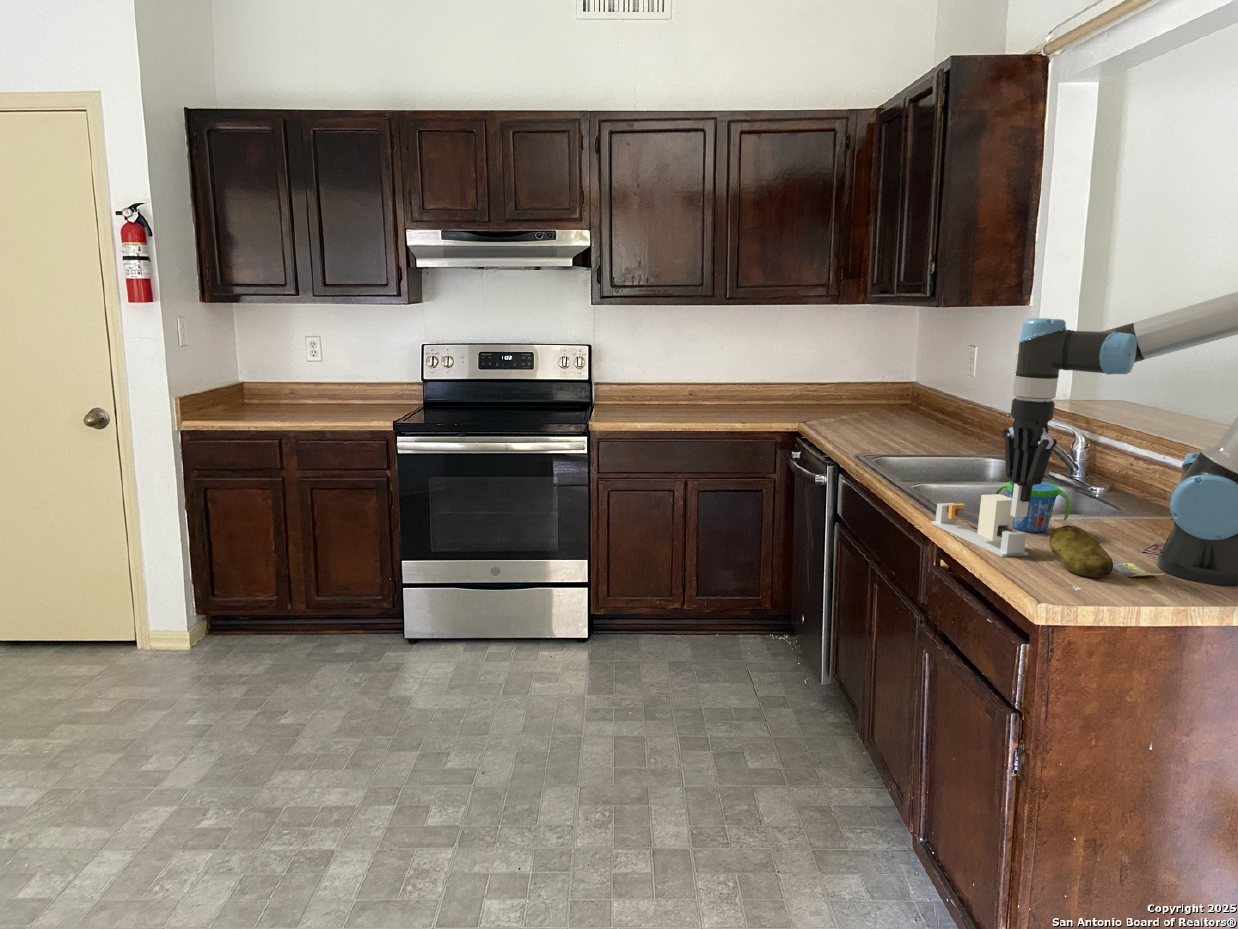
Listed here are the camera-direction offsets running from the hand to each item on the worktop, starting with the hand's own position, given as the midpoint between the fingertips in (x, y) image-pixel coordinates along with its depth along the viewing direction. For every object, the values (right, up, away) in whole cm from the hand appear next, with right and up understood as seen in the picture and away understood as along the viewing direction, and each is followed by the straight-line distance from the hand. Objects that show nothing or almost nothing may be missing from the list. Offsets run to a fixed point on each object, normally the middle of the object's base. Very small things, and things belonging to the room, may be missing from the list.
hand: (1018, 515), depth 171 cm
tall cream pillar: (-1, -5, +8) cm, 9 cm away
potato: (+8, -10, -7) cm, 15 cm away
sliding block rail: (-3, -6, +13) cm, 15 cm away
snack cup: (+13, -4, +22) cm, 26 cm away
